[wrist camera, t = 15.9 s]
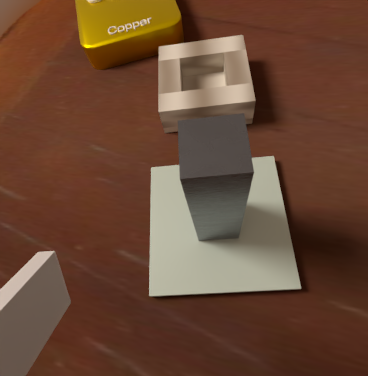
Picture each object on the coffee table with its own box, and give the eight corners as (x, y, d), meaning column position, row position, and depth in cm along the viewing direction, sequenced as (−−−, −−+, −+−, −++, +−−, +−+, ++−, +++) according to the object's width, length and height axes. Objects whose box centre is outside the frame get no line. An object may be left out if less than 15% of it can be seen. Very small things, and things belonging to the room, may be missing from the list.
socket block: (240, 61, 39) (242, 34, 35) (252, 123, 34) (255, 100, 30) (164, 70, 40) (158, 46, 36) (164, 132, 35) (158, 111, 31)
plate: (272, 160, 31) (273, 155, 30) (298, 289, 25) (301, 288, 25) (153, 171, 33) (151, 167, 32) (151, 296, 27) (149, 296, 26)
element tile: (93, 75, 42) (78, 47, 37) (85, 16, 48) (72, -13, 44) (187, 48, 42) (183, 17, 37) (166, -7, 48) (161, -38, 44)
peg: (234, 201, 29) (244, 113, 16) (238, 238, 27) (254, 172, 15) (196, 204, 29) (177, 120, 17) (198, 240, 28) (179, 179, 15)
